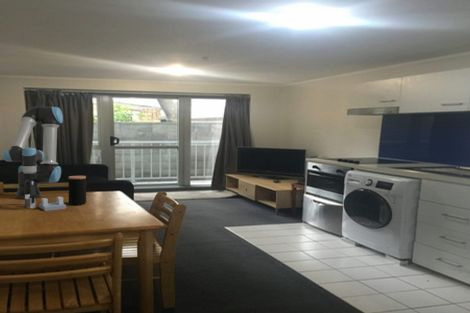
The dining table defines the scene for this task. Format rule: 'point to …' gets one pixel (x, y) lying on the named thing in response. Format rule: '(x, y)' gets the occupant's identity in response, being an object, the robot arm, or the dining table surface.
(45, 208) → the board
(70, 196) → the coffee jar
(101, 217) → the dining table surface
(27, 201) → the dark gray block
